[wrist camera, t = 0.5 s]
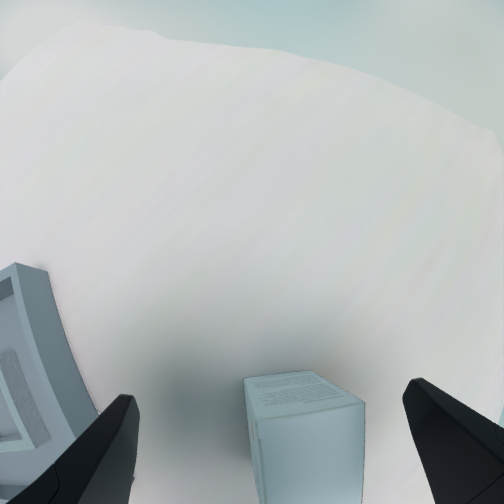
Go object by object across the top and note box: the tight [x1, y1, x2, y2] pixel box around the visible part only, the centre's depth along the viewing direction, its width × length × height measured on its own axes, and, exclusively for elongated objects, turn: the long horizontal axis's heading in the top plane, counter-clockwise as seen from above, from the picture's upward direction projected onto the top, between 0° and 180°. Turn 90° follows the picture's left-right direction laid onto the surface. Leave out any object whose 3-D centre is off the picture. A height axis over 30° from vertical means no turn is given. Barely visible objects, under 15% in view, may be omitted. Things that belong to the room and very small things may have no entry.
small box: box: [243, 370, 365, 504], centre depth 17 cm, size 8×6×10 cm
